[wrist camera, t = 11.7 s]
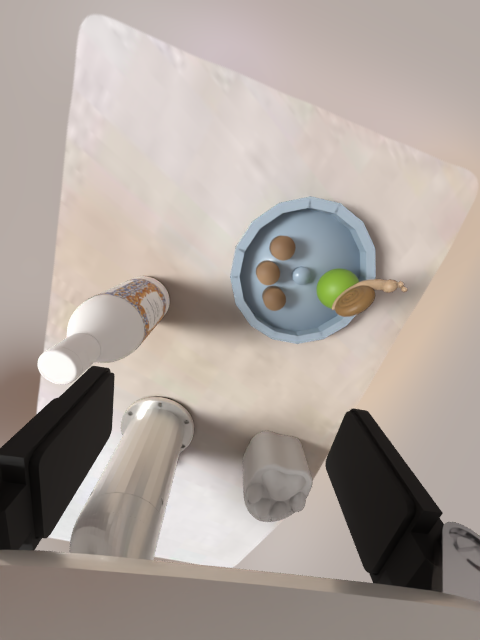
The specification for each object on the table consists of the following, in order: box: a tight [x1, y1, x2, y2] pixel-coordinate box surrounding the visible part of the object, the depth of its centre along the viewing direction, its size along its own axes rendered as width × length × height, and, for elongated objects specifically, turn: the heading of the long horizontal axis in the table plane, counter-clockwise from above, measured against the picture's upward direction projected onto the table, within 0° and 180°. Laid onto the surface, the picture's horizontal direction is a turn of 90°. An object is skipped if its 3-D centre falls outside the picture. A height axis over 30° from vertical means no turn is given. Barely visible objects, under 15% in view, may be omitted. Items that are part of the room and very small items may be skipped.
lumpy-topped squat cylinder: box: [243, 431, 312, 522], centre depth 44 cm, size 10×13×9 cm
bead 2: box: [256, 260, 280, 285], centre depth 34 cm, size 3×3×2 cm
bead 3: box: [262, 286, 286, 311], centre depth 35 cm, size 3×3×2 cm
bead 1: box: [269, 236, 296, 261], centre depth 33 cm, size 3×3×2 cm
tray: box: [230, 196, 376, 344], centre depth 35 cm, size 19×19×3 cm
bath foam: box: [38, 276, 170, 385], centre depth 28 cm, size 7×7×20 cm
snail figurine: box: [316, 268, 408, 317], centre depth 30 cm, size 5×6×12 cm
